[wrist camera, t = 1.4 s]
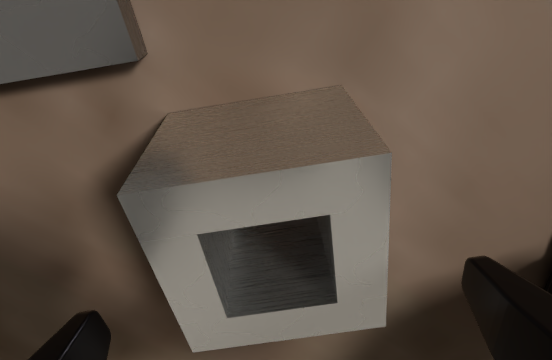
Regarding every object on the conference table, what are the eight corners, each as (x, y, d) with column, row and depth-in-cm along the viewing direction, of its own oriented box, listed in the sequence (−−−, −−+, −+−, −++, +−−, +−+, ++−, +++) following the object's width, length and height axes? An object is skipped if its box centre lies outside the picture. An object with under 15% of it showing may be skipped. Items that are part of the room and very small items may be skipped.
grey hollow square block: (341, 85, 11) (391, 153, 7) (348, 222, 15) (385, 326, 10) (168, 113, 12) (116, 195, 7) (211, 242, 15) (193, 352, 11)
